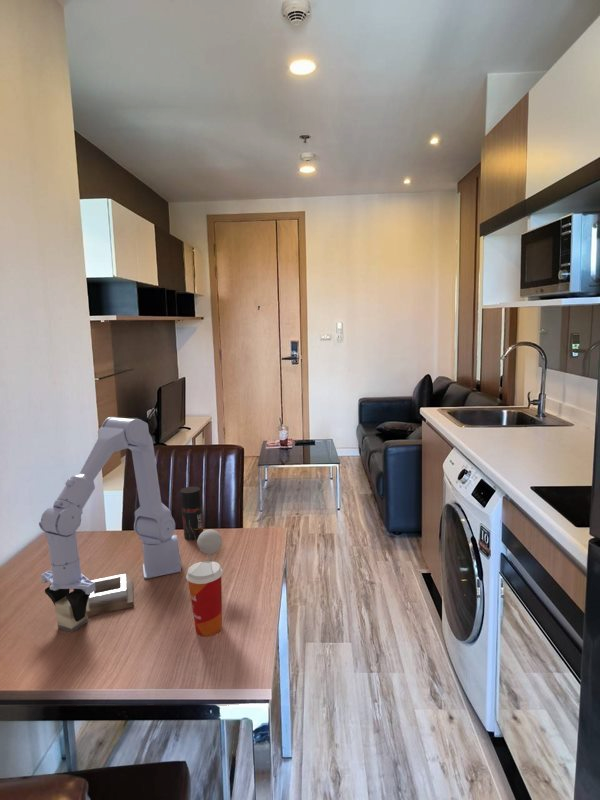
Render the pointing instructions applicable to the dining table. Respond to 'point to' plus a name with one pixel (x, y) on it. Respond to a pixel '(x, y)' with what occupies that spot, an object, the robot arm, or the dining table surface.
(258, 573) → the dining table surface
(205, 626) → the paper cup
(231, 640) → the dining table surface
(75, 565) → the robot arm
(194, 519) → the deodorant
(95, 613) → the collar board
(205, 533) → the lollipop
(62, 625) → the sleeve block
